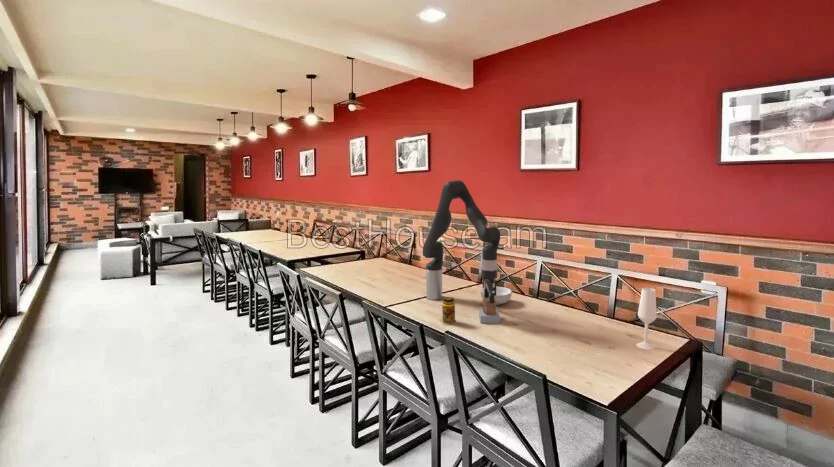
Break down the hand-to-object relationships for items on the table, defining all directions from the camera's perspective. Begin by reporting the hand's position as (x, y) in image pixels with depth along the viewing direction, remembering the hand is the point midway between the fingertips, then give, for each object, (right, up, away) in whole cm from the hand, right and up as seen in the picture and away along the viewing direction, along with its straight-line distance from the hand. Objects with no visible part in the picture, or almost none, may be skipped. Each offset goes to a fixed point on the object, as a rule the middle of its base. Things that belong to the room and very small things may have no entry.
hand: (489, 300), depth 204 cm
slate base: (0, -10, +1) cm, 10 cm away
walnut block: (0, -6, +1) cm, 6 cm away
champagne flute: (+58, -14, -33) cm, 68 cm away
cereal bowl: (+9, -6, +28) cm, 30 cm away
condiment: (-20, -11, +1) cm, 23 cm away
